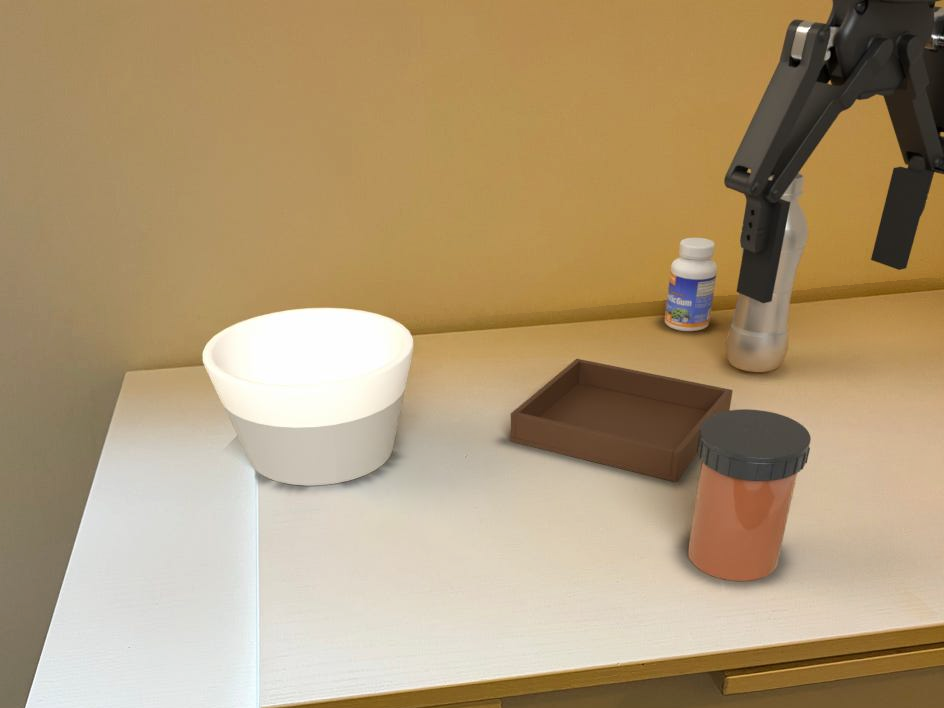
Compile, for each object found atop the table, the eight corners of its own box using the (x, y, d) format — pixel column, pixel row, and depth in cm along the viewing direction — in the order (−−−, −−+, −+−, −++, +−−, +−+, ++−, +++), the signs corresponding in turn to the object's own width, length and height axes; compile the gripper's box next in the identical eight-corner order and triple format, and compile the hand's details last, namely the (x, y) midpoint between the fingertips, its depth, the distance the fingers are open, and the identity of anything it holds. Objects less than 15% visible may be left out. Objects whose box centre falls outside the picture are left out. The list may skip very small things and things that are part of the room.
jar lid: (818, 445, 77) (823, 422, 76) (789, 491, 71) (794, 468, 70) (716, 422, 80) (719, 400, 79) (680, 465, 75) (683, 443, 73)
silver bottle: (774, 383, 107) (811, 186, 95) (714, 372, 110) (742, 179, 98) (790, 362, 112) (828, 171, 99) (732, 352, 115) (761, 164, 102)
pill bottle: (655, 322, 122) (663, 241, 116) (686, 313, 124) (696, 232, 118) (686, 336, 119) (697, 252, 112) (718, 325, 121) (730, 243, 115)
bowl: (185, 486, 92) (161, 376, 85) (271, 399, 106) (256, 299, 100) (381, 512, 88) (372, 398, 81) (443, 418, 102) (439, 315, 96)
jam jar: (788, 546, 82) (814, 429, 76) (762, 590, 77) (788, 470, 71) (704, 524, 85) (722, 410, 79) (675, 566, 80) (691, 447, 74)
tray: (728, 417, 101) (732, 389, 99) (675, 482, 91) (679, 452, 89) (575, 384, 108) (576, 358, 106) (510, 441, 98) (510, 413, 96)
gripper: (986, -89, 66) (900, 239, 80) (700, -78, 57) (656, 295, 70) (1090, -84, 61) (980, 265, 75) (796, -71, 51) (729, 329, 65)
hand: (823, 280), depth 72 cm, fingers open, 13 cm apart
